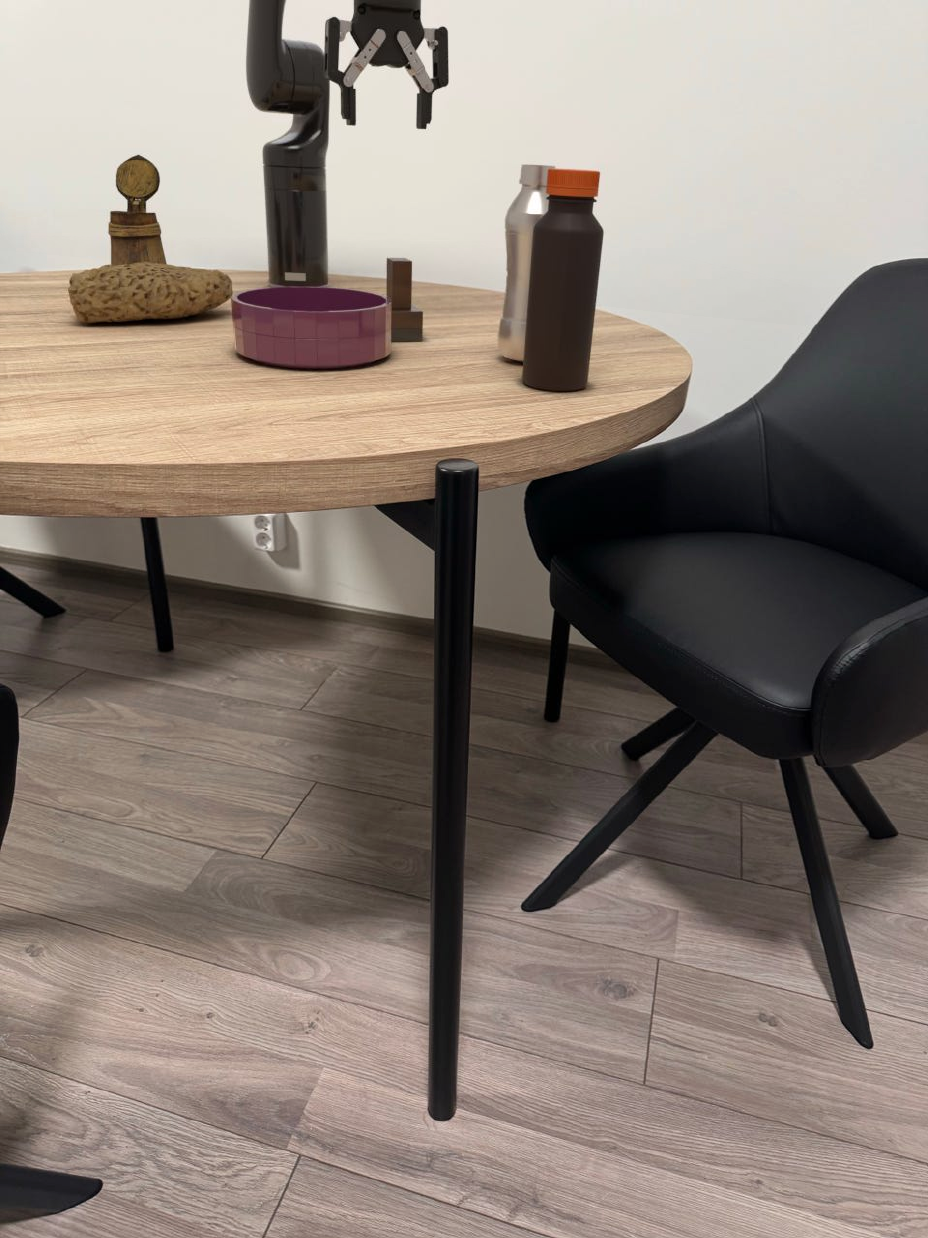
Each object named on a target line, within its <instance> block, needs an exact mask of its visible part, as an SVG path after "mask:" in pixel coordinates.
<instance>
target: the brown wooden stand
mask: <svg viewBox="0 0 928 1238" xmlns="http://www.w3.org/2000/svg"><path fill="white" fill-rule="evenodd" d="M116 168H117V169H116V172H115V187H116V189H117V192H118V193H119V194H120V195H121V196H122V197H124V198H125V200H126V201H127V202H126V204H127V205H126V206H127V207H126V211H125V210H124V211H122V210H111V211H110V212H109V222H108V227H107V228H108V230H107V231H108V232H107V234H108V235H109V236H110V237H109V238H110V265H113V266H118V265H125V264H126V265H129V264H133V263H143V262H151V263H157V264H168V263H167V259H166V255H165V249H164V246H163V240H162V236H161V235H162V229H161V225H160V222H159V221H158V218H157V214H156V212H147V201H149V200H150V199H151V198H153V196H154V195H156V193H157V192H158V191H159V188H160V184H161V176H160V172H159V170H158V168H157V166H156V165H155V164H154V163H153V162H151V161H150V160H149V159H147V158H146V157H144V156H142V155H141V154H136V155H134V156H131V157H129V158H127V159H126V160H124V161H123V162H121V163H120V165H118V167H116Z"/></svg>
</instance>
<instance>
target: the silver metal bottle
mask: <svg viewBox="0 0 928 1238" xmlns="http://www.w3.org/2000/svg"><path fill="white" fill-rule="evenodd" d="M550 168H552V169H556V166H555V165H544V164H521V166H520V177H519V180H518V181H519V182H518V184H520V185H521V187H520V191H519V192H518V194H517V195H516V197H515V198H514V199H513V201H511V204H510V205H509V207H508V209H507V211H506V214H505V217H504V230H505V231H504V235H505V236H504V238H505V252H506V253H505V254H506V276H505V278H506V280H505V291H504V299H503V305H502V316H500V317H501V318H500V320H499V324H498V330H497V334H496V335H497V347H498V350H499V352H500V354H501V356H502V357H504V358H506V359H510V360H514V361H516V362H517V361H518V362H521V363H523V358H524V345H525V332H526V319H527V305H528V292H529V279H530V266H531V252H532V239H533V228H534V226H535V224H536V223H537V222H538V221H539V220H540V219H541V218H542V217H543V215H544V214H545V213H546V212H547V211H548V203H549V200H547V199H546V197H548V196H549V194H546V186H547V174H548V169H550Z"/></svg>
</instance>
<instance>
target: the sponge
mask: <svg viewBox="0 0 928 1238" xmlns="http://www.w3.org/2000/svg"><path fill="white" fill-rule="evenodd" d="M68 282H69V285H70V286H69V287H68V288H67V292H68V296H69V302H70V305H71V306H72V309H73V311H74V314H75V316H76V318H77V319H78V320H79V321H80V323H83V324H96V323H105V322H107V323H112V322H114V323H115V322H119V323H120V322H121V323H122V322H131V321H132V322H133V321H141V320H147V319H148V320H149V319H151V320H152V319H153V320H175V319H183V318H186V317H190V316H195V315H199V314H203V313H206V312H208V311H211V310H214V309H216V308H218V307H220V306H222V305H223V304H225V303H226V302H228V301H229V300H231V296H232V295H233V294H234V291H233V280H232V278H231V277H230V276H229V275H228V274H227V273H226V274H225V273H224V272H223V271H221V270H218V269H206V268H196V267H195V268H194V267H191V266H177V265H173V264H168V263H167V264H157V263H151V262H143V263H133V264H129V265H126V264H125V265H118V266H113V265H111V264H104V265H101V266H100V267H98V268H95V267H93V268H90V269H85V270H83V271H81V272H78V273H76V272H72V275H71V276H70V278H69V280H68Z"/></svg>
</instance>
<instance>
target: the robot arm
mask: <svg viewBox="0 0 928 1238" xmlns="http://www.w3.org/2000/svg"><path fill="white" fill-rule="evenodd" d="M248 1H249V2H248V18H247V31H246V33H247V34H246V51H245V78H246V79H245V80H246V87H247V92H248V96H249V99H250V102H251V103H252V105H253V106H254V108H256V110H258V111H259V112H262V113H268V114H269V113H271V114H282V115H292V119H291V126H290V127H289V129H287V131H286V132H284V133H283V134H282V135H280V136H279V137H276V138H275V139H272V140H270V141H267V142H266V143H264V144H263V146H262V152H261V153H262V154H261V157H262V171H263V174H262V175H263V187H264V189H263V190H264V192H263V193H264V207H265V208H264V210H265V211H264V212H265V229H266V230H265V231H266V245H267V246H266V248H267V249H266V251H267V271H268V272H267V273H268V281H267V282H268V287H281V286H318V287H330V282H329V237H328V233H329V231H328V201H327V200H328V197H327V196H328V195H327V194H328V193H327V168H326V167H327V155H328V149H329V144H330V106H331V105H330V104H331V102H330V101H331V100H330V99H331V82H332V83H335V84H336V85H337V86H338V87H339V91H340V115H341V119H342V120H345V121H346V122H345V123H346V126H352V127H353V126H354V127H355V126H356V125H357V123H356V122H357V89H356V88H354V84H355V82H356V81H357V80H358V79H359V76H360V75H361V73H362V72H363V71H364V70H365V69H366V68H367V66H368V65H370V66H371V67H375V68H379V67H384V66H386V67H388V68H391V69H401V68H404V69H405V71H406V72H407V75H409V76H410V78H411V79H412V80H413V82H414V84H415V85H416V87H417V89H418V91H419V92H417V93H416V114H415V115H416V117H415V119H416V121H415V127H416V129H417V130H427V126H428V125H431V122H432V120H433V95H434V92H435V91H437V90H439V89H442V88H447V86H448V85H449V82H450V81H449V78H450V77H449V76H450V74H449V70H450V69H449V68H450V67H449V30H448V28H447V27H446V26H439V27H435V28H434V27H432V28H429V27H424V25H423V23H422V17H421V16H422V0H353V13H352V18H351V20H344V19H339V18H338V17H337V16H330V17H329V18H327V19H326V20H325V23H324V47H323V48H324V49H323V48H322V47H321V46H320V45H319V44H317V43H316V42H313V41H308V40H299V39H291V38H283V26H284V25H283V24H284V17H285V8H286V3H287V0H248ZM348 33H349V34H350V37H352V39H353V42H354V43H355V45H356V47H357V50H356V52H355V53H354V55H353V57H352V58H351V59H350V61H349V63H348V65H347V66H346V68H345V70H343V71H341V70H339V64H340V63H339V62H340V43H342V42H343V41H345V39H346V35H347V34H348ZM424 40H425V41H426V44H427V47H428V49H429V50H430V51H431V53H432V55H431V56H432V77H430V75H429V74H428V71H427V70H426V67H425V65H424V63H423V61H422V59H421V58H420V56H419V54H418V52H417V50H418V49H419V47H420V46H421V44H422V43H423V41H424Z"/></svg>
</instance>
